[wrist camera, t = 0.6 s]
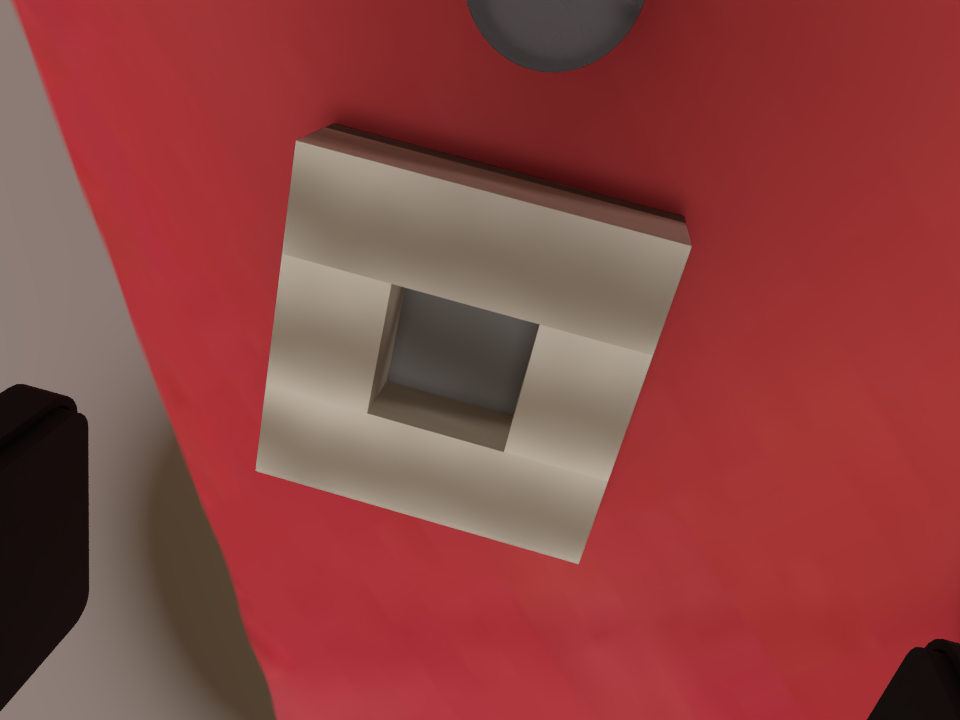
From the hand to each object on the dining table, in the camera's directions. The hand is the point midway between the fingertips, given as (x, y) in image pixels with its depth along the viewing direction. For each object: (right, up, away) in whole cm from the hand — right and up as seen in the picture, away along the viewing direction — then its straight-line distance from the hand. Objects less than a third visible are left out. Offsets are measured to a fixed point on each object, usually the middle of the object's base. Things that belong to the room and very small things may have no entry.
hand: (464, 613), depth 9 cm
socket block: (0, +4, +25) cm, 26 cm away
